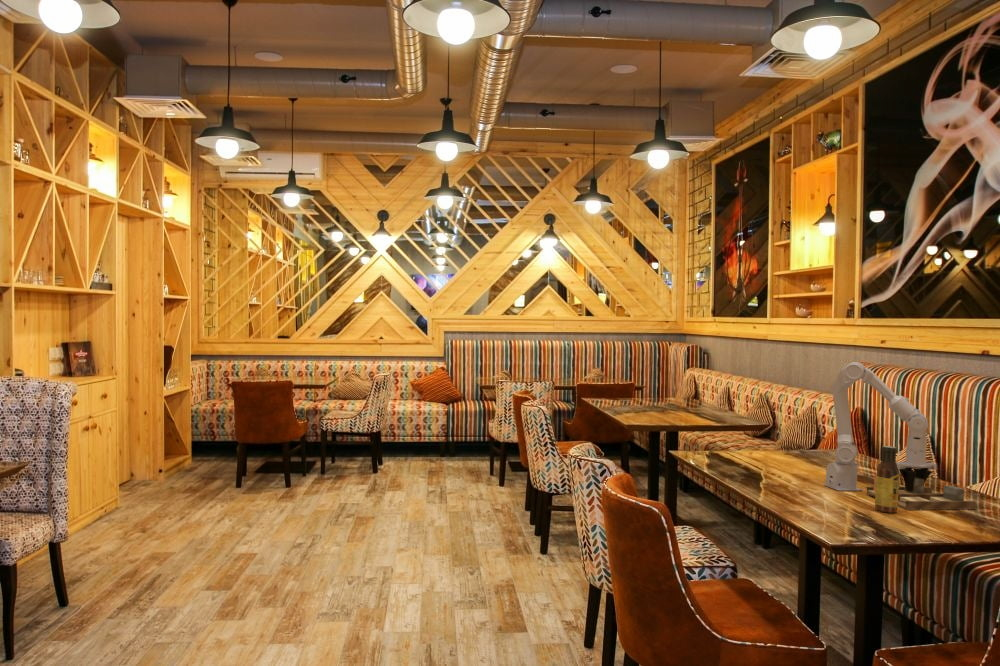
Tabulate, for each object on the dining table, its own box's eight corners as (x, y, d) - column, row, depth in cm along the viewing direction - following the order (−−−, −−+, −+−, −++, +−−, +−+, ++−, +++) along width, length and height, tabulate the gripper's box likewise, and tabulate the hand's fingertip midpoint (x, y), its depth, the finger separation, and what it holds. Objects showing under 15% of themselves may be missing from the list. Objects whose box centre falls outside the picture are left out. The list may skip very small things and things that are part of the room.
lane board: (907, 510, 222) (908, 491, 222) (866, 494, 240) (867, 477, 240) (975, 509, 226) (976, 491, 226) (929, 494, 245) (930, 477, 244)
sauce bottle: (896, 515, 215) (900, 449, 215) (873, 511, 219) (877, 446, 218) (898, 510, 221) (901, 446, 220) (875, 506, 224) (878, 444, 224)
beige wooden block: (882, 498, 232) (883, 480, 232) (867, 493, 239) (868, 475, 239) (925, 498, 235) (926, 480, 235) (909, 492, 242) (910, 475, 241)
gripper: (905, 452, 232) (903, 493, 233) (944, 452, 235) (942, 493, 235) (890, 448, 239) (887, 488, 240) (928, 448, 242) (926, 488, 242)
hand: (913, 490), depth 238 cm, fingers closed on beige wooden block, 3 cm apart
